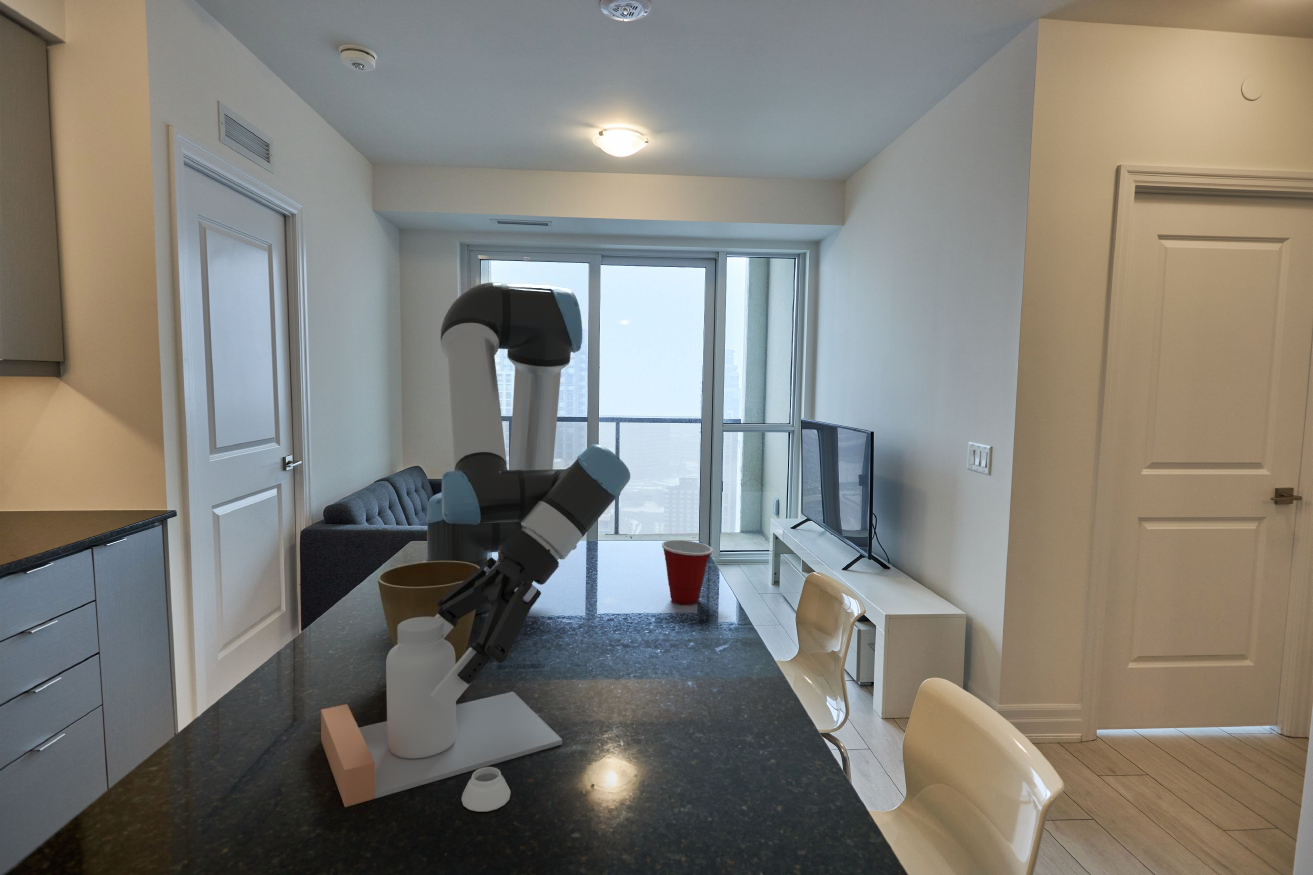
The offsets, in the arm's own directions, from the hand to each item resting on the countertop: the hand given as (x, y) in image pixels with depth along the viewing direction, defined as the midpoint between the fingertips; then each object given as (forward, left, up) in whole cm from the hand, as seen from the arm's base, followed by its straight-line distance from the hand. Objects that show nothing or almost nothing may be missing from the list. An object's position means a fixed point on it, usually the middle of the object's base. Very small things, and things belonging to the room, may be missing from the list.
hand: (423, 680), depth 85 cm
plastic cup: (-32, +63, -9) cm, 71 cm away
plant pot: (-21, +7, -9) cm, 24 cm away
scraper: (0, +2, -8) cm, 9 cm away
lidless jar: (+14, +3, -9) cm, 17 cm away
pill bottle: (0, 0, -8) cm, 8 cm away
